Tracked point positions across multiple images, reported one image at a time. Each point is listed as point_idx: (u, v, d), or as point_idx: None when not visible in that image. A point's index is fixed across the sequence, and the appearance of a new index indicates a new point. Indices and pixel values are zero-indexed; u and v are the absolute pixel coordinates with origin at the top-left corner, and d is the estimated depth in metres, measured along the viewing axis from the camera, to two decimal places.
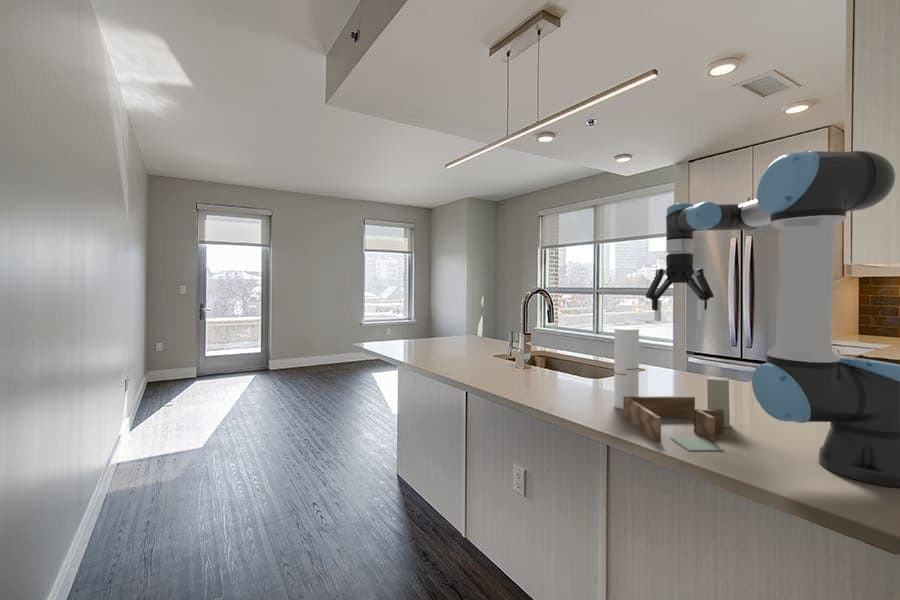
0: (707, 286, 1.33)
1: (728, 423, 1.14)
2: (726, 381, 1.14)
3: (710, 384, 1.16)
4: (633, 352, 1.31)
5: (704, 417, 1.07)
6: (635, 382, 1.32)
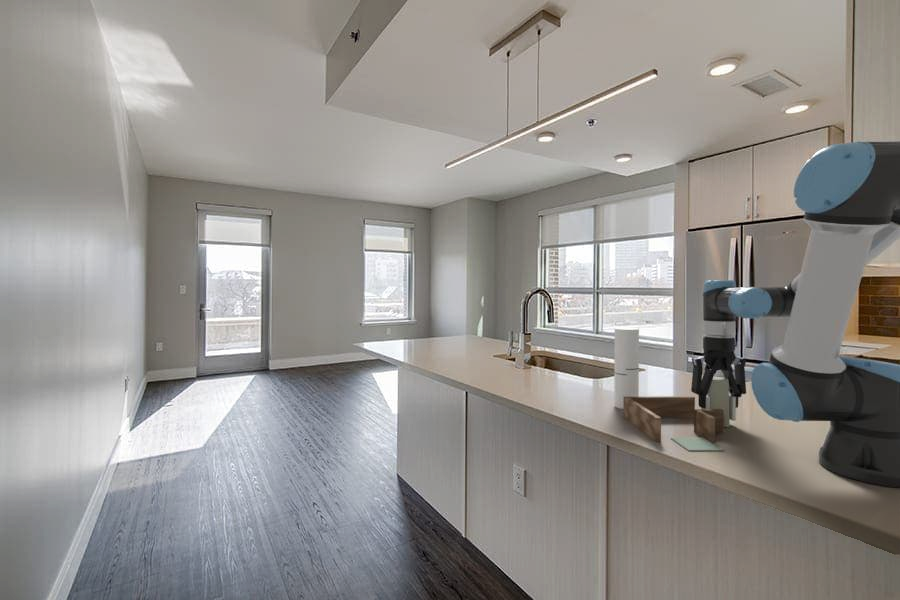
0: (743, 380, 1.16)
1: (728, 423, 1.14)
2: (726, 381, 1.14)
3: None
4: (633, 352, 1.31)
5: (704, 417, 1.07)
6: (635, 382, 1.32)
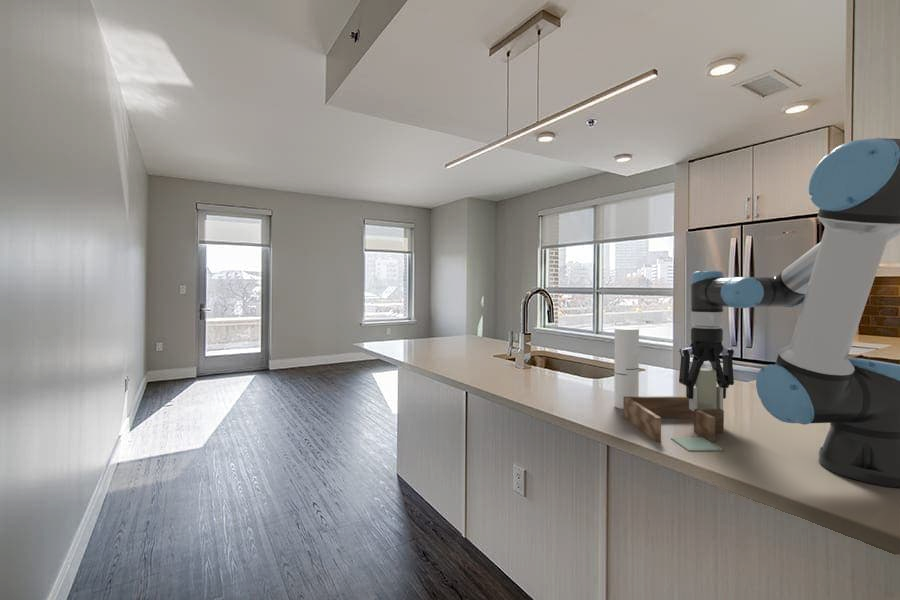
0: (731, 371, 1.16)
1: None
2: (713, 372, 1.14)
3: (698, 375, 1.16)
4: (633, 352, 1.31)
5: (704, 417, 1.07)
6: (635, 382, 1.32)
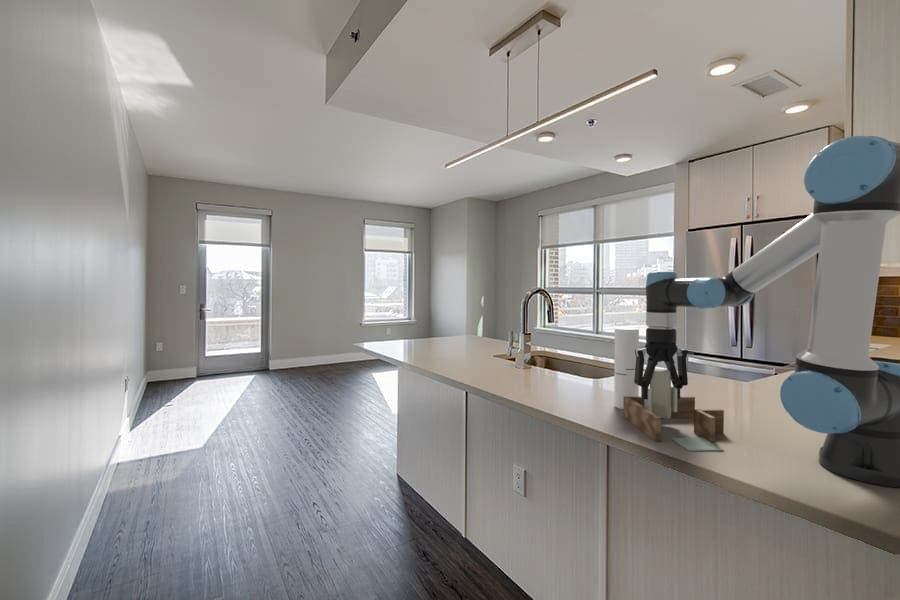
0: (685, 371, 1.16)
1: (669, 414, 1.14)
2: (667, 372, 1.14)
3: (652, 376, 1.16)
4: (633, 352, 1.31)
5: (704, 417, 1.07)
6: None
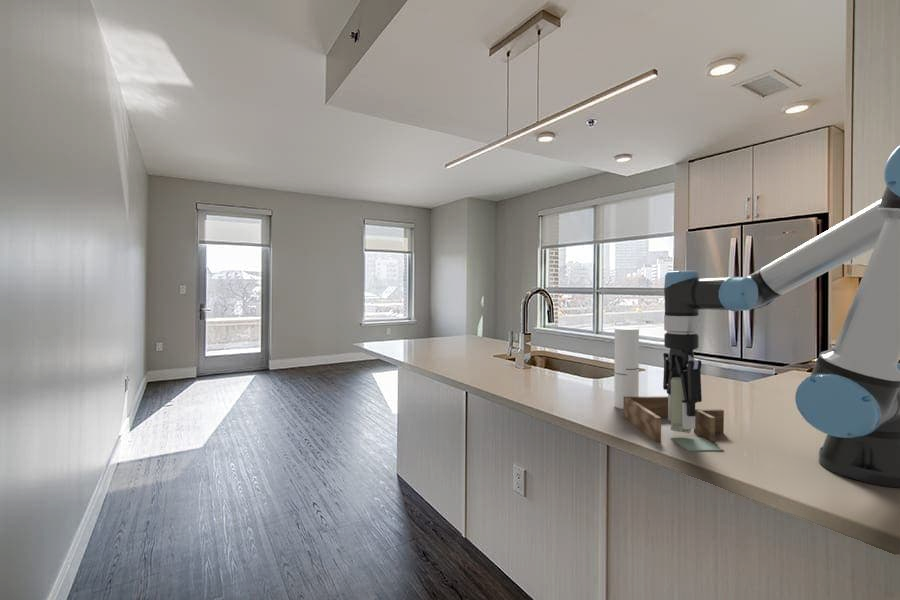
0: (689, 385, 1.00)
1: (671, 426, 1.06)
2: (671, 380, 1.06)
3: None
4: (633, 352, 1.31)
5: (704, 417, 1.07)
6: (635, 382, 1.32)
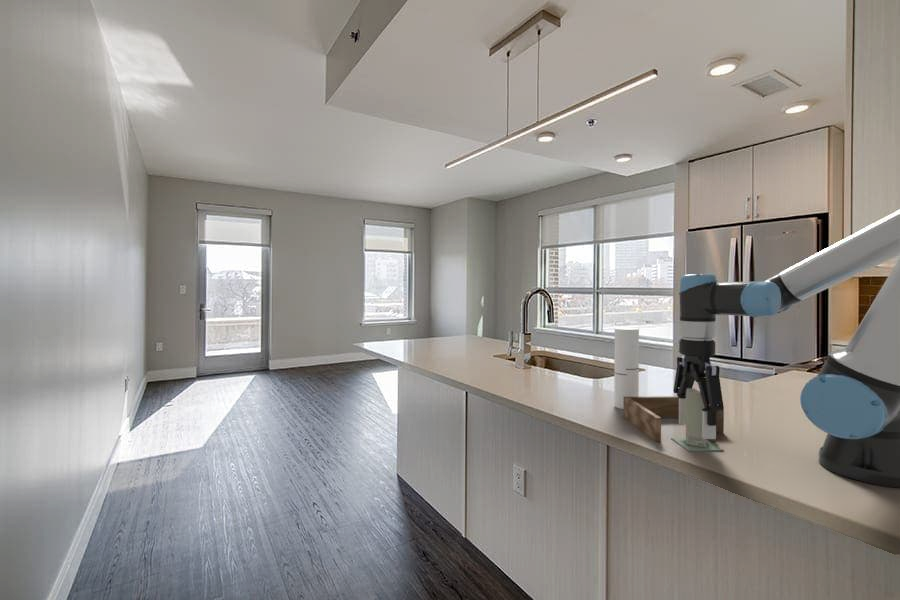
0: (709, 393, 0.95)
1: (686, 439, 1.02)
2: (686, 392, 1.02)
3: None
4: (633, 352, 1.31)
5: None
6: (635, 382, 1.32)
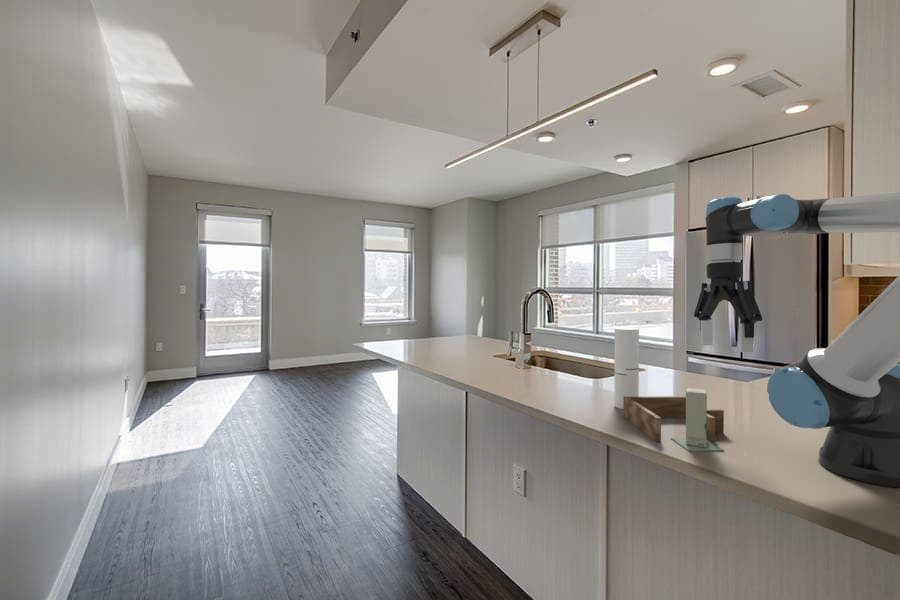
0: (745, 305, 0.96)
1: (686, 439, 1.02)
2: (686, 392, 1.02)
3: None
4: (633, 352, 1.31)
5: None
6: (635, 382, 1.32)
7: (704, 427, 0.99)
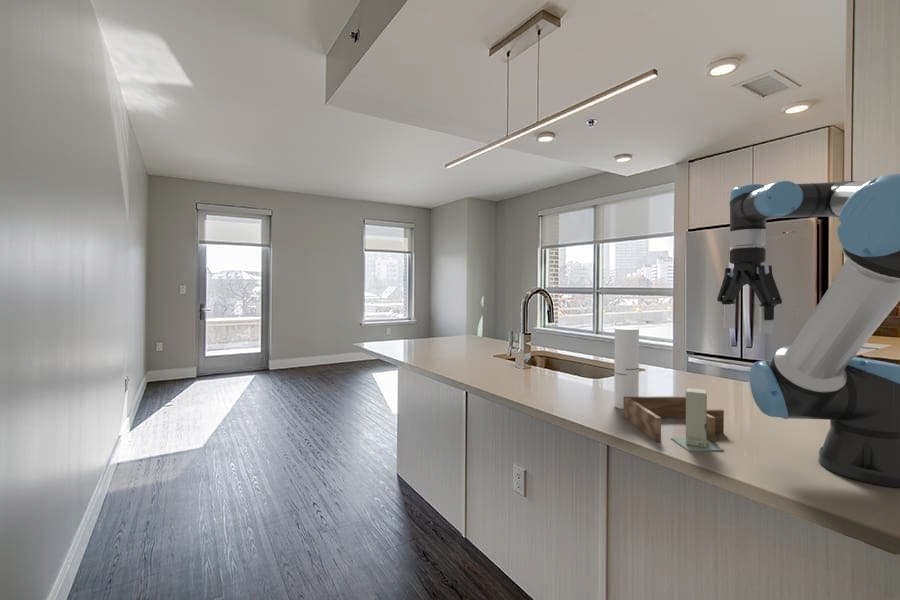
0: (765, 289, 1.00)
1: (686, 439, 1.02)
2: (686, 392, 1.02)
3: None
4: (633, 352, 1.31)
5: None
6: (635, 382, 1.32)
7: (704, 427, 0.99)
